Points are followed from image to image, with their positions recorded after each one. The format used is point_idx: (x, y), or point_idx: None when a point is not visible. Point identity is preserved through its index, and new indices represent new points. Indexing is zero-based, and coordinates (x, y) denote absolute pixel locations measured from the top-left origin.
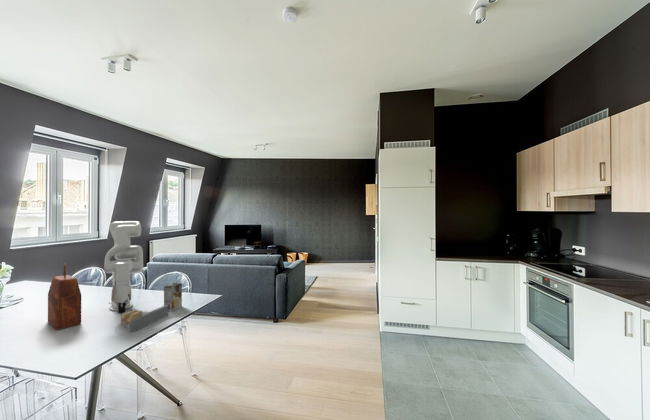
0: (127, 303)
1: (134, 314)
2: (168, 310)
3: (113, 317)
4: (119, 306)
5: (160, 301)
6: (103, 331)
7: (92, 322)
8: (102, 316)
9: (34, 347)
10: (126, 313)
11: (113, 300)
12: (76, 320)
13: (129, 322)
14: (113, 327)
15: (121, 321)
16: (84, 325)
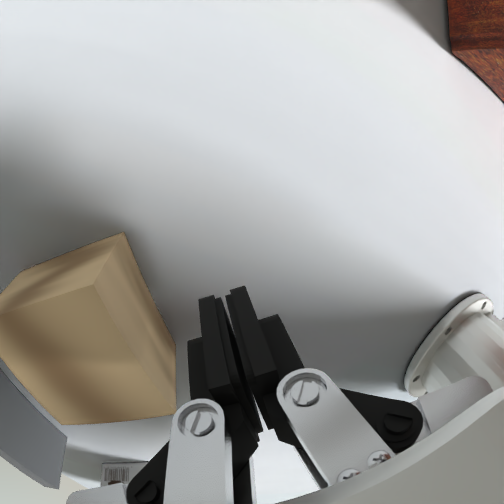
0: (84, 496)
1: (2, 355)
2: (119, 464)
3: (366, 252)
4: (282, 390)
5: None
6: (50, 30)
7: (417, 96)
8: (454, 215)
9: None
10: (86, 337)
11: (497, 452)
12: (475, 22)
13: (29, 270)
14: (54, 122)
15: (119, 236)
16: (404, 31)
